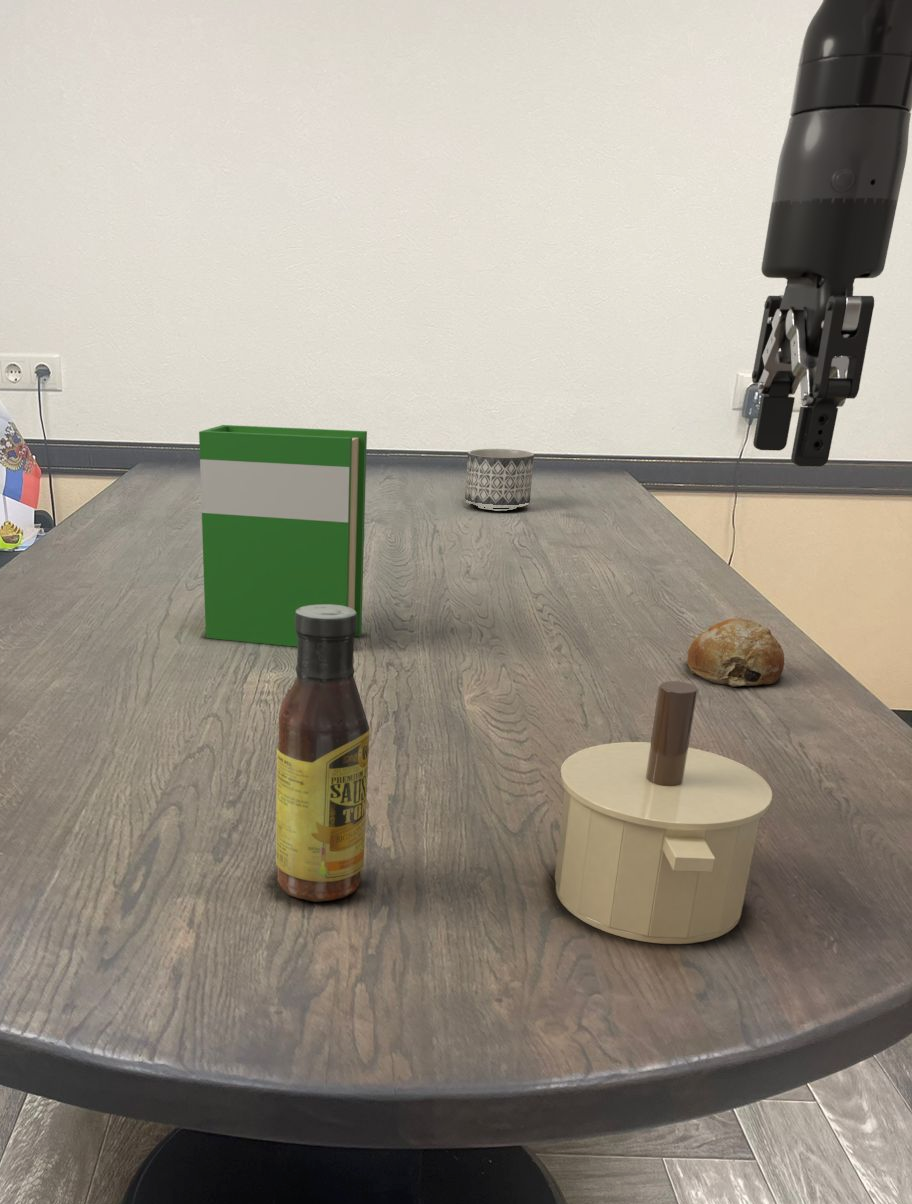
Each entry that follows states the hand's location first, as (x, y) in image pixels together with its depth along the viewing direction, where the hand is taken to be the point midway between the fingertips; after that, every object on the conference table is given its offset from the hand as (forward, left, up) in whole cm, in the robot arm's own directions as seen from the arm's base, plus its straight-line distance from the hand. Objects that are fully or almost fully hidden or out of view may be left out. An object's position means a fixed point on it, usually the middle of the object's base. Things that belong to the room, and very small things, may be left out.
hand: (787, 457), depth 78 cm
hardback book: (+40, -48, -28) cm, 69 cm away
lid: (+9, +14, -20) cm, 26 cm away
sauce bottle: (+32, +14, -28) cm, 45 cm away
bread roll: (-11, -38, -28) cm, 49 cm away
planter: (+6, -141, -28) cm, 144 cm away
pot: (+9, +14, -28) cm, 33 cm away
